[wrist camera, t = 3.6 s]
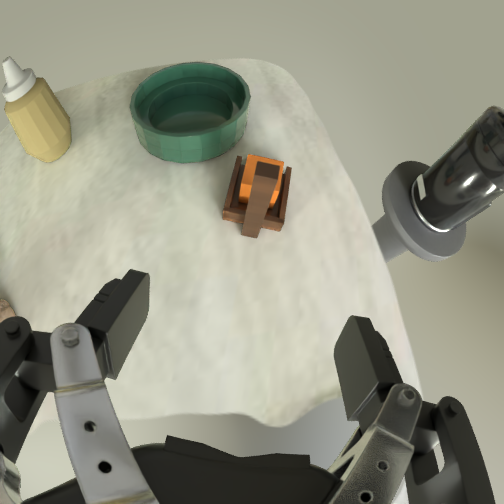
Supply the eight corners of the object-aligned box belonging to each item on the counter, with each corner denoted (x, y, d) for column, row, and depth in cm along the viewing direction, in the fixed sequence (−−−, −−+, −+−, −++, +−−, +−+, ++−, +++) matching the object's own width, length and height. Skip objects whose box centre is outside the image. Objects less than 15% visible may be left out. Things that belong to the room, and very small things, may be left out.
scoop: (278, 243, 32) (309, 187, 21) (219, 230, 32) (222, 168, 21) (287, 177, 35) (315, 110, 24) (235, 166, 35) (245, 94, 24)
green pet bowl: (254, 97, 40) (258, 70, 34) (232, 174, 35) (235, 146, 29) (160, 85, 39) (157, 59, 34) (121, 156, 34) (110, 130, 29)
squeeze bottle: (63, 171, 32) (4, 78, 15) (26, 168, 32) (-31, 89, 15) (87, 127, 35) (48, 33, 18) (50, 127, 35) (8, 45, 18)
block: (272, 209, 33) (279, 191, 29) (238, 201, 33) (241, 183, 29) (277, 180, 34) (284, 161, 31) (244, 173, 34) (248, 153, 30)
